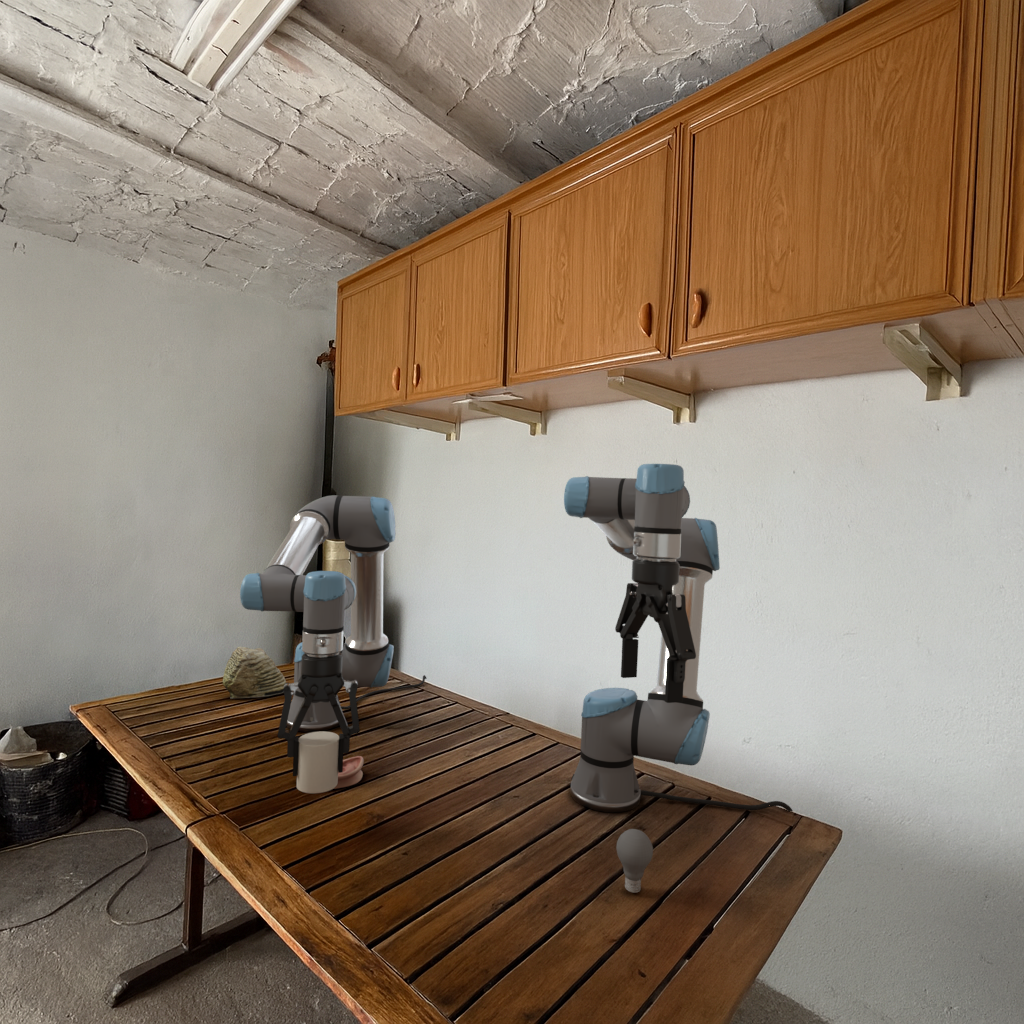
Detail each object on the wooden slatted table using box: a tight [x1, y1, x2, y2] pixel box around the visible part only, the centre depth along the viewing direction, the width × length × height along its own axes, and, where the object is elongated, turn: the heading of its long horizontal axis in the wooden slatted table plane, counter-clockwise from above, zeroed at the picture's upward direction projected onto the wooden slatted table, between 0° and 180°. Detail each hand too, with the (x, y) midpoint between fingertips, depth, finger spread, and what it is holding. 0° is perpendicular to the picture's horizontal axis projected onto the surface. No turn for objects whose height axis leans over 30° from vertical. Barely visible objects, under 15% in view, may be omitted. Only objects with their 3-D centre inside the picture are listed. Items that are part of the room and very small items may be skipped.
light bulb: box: [615, 828, 654, 894], centre depth 106 cm, size 6×6×10 cm
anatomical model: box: [332, 755, 364, 790], centre depth 142 cm, size 13×4×12 cm
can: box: [296, 730, 339, 794], centre depth 121 cm, size 8×8×9 cm
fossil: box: [222, 646, 287, 699], centre depth 198 cm, size 9×18×15 cm, turn 132°
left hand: (317, 771), depth 121 cm, fingers closed on can, 8 cm apart
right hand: (649, 688), depth 103 cm, fingers open, 13 cm apart
